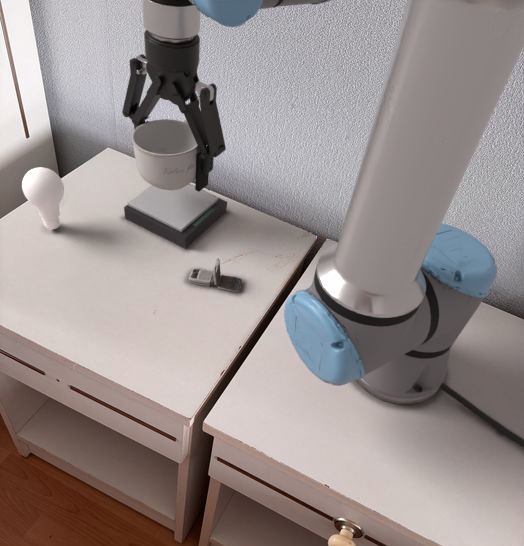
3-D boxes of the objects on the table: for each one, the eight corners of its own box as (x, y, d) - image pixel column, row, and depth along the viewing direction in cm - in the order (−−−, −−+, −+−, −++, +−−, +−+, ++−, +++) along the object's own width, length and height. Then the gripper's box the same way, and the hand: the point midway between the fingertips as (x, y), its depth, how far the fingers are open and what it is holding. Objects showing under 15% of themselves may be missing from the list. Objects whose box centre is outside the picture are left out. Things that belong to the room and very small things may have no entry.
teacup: (169, 207, 82) (168, 162, 75) (120, 177, 85) (116, 132, 79) (225, 173, 89) (228, 129, 83) (178, 147, 92) (178, 103, 86)
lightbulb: (54, 211, 90) (41, 154, 81) (79, 227, 88) (68, 171, 79) (25, 228, 86) (8, 170, 78) (51, 245, 84) (36, 187, 76)
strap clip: (187, 283, 83) (187, 263, 80) (192, 270, 85) (192, 251, 82) (239, 293, 83) (241, 274, 80) (242, 280, 85) (245, 261, 82)
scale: (226, 212, 96) (227, 198, 93) (185, 249, 88) (185, 235, 86) (169, 185, 98) (169, 171, 96) (125, 218, 91) (123, 204, 89)
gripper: (259, 51, 69) (243, 190, 86) (122, -2, 75) (133, 139, 92) (229, 69, 65) (218, 212, 82) (86, 11, 70) (104, 157, 87)
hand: (173, 173), depth 87 cm, fingers closed on teacup, 11 cm apart
